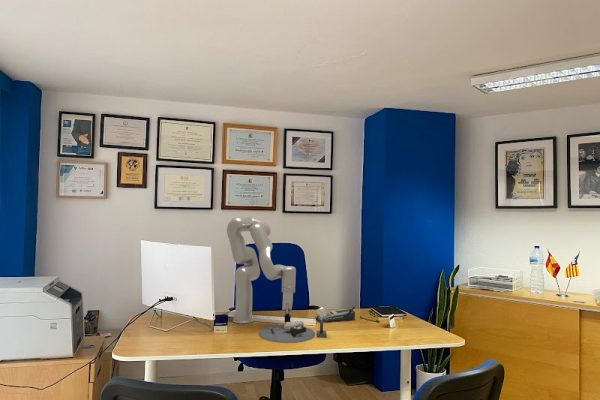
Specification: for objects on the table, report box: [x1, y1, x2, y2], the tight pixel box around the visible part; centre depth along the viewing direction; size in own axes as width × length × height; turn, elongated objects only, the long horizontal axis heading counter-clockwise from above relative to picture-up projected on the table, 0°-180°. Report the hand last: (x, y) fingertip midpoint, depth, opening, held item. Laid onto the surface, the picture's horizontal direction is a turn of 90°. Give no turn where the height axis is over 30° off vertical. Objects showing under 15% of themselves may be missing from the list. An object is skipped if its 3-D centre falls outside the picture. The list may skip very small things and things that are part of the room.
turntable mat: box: [257, 324, 316, 344], centre depth 212 cm, size 30×30×1 cm
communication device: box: [315, 305, 356, 323], centre depth 241 cm, size 12×24×9 cm, turn 110°
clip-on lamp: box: [270, 320, 307, 337], centre depth 211 cm, size 12×6×18 cm
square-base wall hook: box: [315, 307, 329, 339], centre depth 209 cm, size 6×5×15 cm
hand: (287, 322), depth 222 cm, fingers closed
